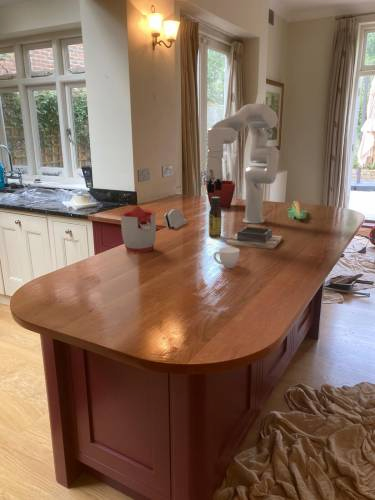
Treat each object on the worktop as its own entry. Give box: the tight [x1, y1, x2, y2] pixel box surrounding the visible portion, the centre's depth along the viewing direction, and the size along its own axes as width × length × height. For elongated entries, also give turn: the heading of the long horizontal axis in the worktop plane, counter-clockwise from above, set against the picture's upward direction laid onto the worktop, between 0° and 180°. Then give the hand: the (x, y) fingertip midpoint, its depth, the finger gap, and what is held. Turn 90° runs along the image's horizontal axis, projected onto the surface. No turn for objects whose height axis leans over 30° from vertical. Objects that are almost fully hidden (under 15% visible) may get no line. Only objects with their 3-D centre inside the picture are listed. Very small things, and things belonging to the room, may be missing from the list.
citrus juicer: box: [119, 205, 157, 254], centre depth 178 cm, size 16×17×20 cm
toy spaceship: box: [286, 200, 307, 220], centre depth 242 cm, size 32×10×7 cm, turn 170°
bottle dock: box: [225, 225, 283, 250], centre depth 191 cm, size 18×22×6 cm
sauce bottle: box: [208, 197, 223, 238], centre depth 199 cm, size 7×6×20 cm
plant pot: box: [205, 180, 236, 209], centre depth 278 cm, size 19×19×17 cm
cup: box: [213, 246, 241, 269], centre depth 157 cm, size 8×10×7 cm
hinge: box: [163, 208, 188, 229], centre depth 227 cm, size 17×5×10 cm, turn 156°
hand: (214, 191), depth 195 cm, fingers open, 9 cm apart
